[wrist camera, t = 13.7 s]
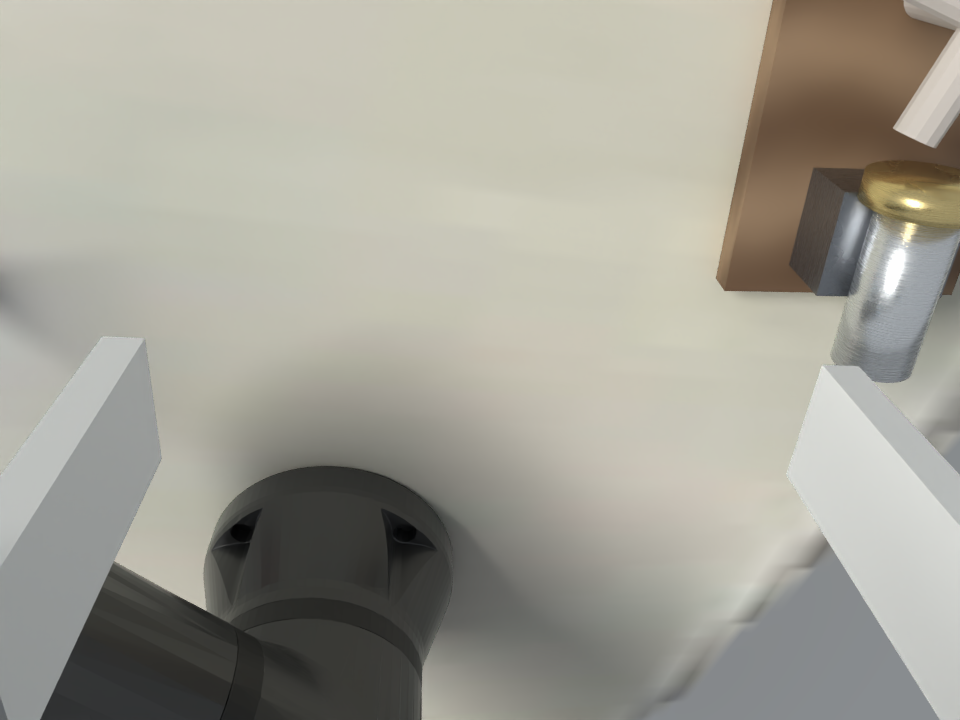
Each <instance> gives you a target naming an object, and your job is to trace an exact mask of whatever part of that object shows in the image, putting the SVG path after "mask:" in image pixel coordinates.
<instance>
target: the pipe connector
mask: <svg viewBox="0 0 960 720" xmlns="http://www.w3.org/2000/svg"><path fill="white" fill-rule="evenodd" d="M903 1H904V8H905V11H906V13H907V14H908V15H909V16H910V17H911V18H914V19H917V20H921V21H924V22H928V23H931V24H935V25H938V26H941V27H945V28H948V29H952V30H955V32H954V34H953V35H952V37H951V38H950V40H949V41H948V43H947V45H946V46H945V48H944V49H943V51H942V52H941V54H940V55H939V57H938V59H937V60H936V62H935V63H934V65H933V66H932V68H931V69H930V71H929V72H928V74H927V76H926V77H925V79H924V80H923V82H922V83H921V85H920V86H919V88H918V90H917V91H916V93H915V94H914V96H913V97H912V99H911V100H910V102H909V104H908V105H907V107H906V108H905V110H904V111H903V113H902V114H901V116H900V118H899V119H898V121H897V122H896V124H895V125H894V127H893V129H895V130H896V131H898V132H900V133H902V134H904V135H906V136H908V137H910V138H912V139H915V140H917V141H919V142H921V143H923V144H925V145H928V146H930V147H932V148H936V147H937V146H938V144H939V143H940V142H941V140H942V139H943V137H944V136H945V134H946V133H947V131H948V130H949V128H950V127H951V125H952V124H953V122H954V121H955V119H956V118H957V116H958V115H959V113H960V0H903Z"/></svg>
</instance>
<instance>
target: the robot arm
mask: <svg viewBox="0 0 960 720" xmlns="http://www.w3.org/2000/svg"><path fill="white" fill-rule="evenodd" d="M161 459H162V458H161V450H160V443H159V436H158V429H157V422H156V415H155V407H154V400H153V393H152V386H151V379H150V372H149V364H148V357H147V350H146V343H145V338H128V337H103V336H102V337H101V339H100V340H99V341H98V343H97V344H96V345H95V347H94V348H93V349H92V351H91V352H90V354H89V355H88V356H87V358H86V359H85V360H84V362H83V363H82V365H81V366H80V367H79V369H78V370H77V371H76V373H75V374H74V375H73V377H72V378H71V380H70V381H69V382H68V384H67V385H66V386H65V388H64V389H63V391H62V392H61V393H60V395H59V396H58V397H57V399H56V400H55V401H54V403H53V404H52V406H51V407H50V408H49V410H48V411H47V412H46V414H45V415H44V417H43V418H42V419H41V421H40V422H39V423H38V425H37V426H36V427H35V429H34V430H33V432H32V433H31V434H30V436H29V437H28V438H27V440H26V441H25V443H24V444H23V445H22V447H21V448H20V449H19V451H18V452H17V453H16V455H15V456H14V458H13V459H12V460H11V462H10V463H9V464H8V466H7V467H6V469H5V470H4V471H3V473H2V474H1V475H0V720H422V667H423V665H424V662H425V660H426V657H427V655H428V653H429V650H430V648H431V645H432V643H433V640H434V638H435V636H436V633H437V631H438V628H439V626H440V624H441V621H442V619H443V616H444V614H445V612H446V609H447V607H448V604H449V600H450V596H451V590H452V580H453V575H452V550H451V544H450V540H449V537H448V534H447V532H446V530H445V528H444V526H443V524H442V522H441V521H440V519H439V518H438V516H437V515H436V514H435V512H434V511H433V510H432V509H431V508H430V507H429V506H428V505H427V504H426V503H425V502H424V501H423V500H422V499H421V498H420V497H418V496H417V495H416V494H414V493H413V492H411V491H410V490H408V489H407V488H405V487H403V486H402V485H400V484H398V483H396V482H394V481H392V480H390V479H387V478H385V477H382V476H379V475H376V474H373V473H370V472H366V471H362V470H357V469H351V468H344V467H328V466H324V467H307V468H300V469H295V470H290V471H286V472H282V473H279V474H276V475H273V476H271V477H268V478H266V479H263V480H261V481H260V482H258V483H256V484H254V485H252V486H251V487H249V488H247V489H246V490H245V491H243V492H242V493H241V494H240V495H238V496H237V497H236V498H235V499H234V500H233V501H232V502H231V503H230V504H229V505H228V507H227V508H226V509H225V510H224V512H223V513H222V515H221V517H220V518H219V520H218V522H217V525H216V527H215V530H214V533H213V536H212V538H211V541H210V544H209V547H208V550H207V554H206V558H205V564H204V588H205V598H206V608H207V611H205V610H203V609H201V608H199V607H198V606H196V605H194V604H192V603H190V602H188V601H186V600H184V599H182V598H180V597H178V596H176V595H175V594H173V593H171V592H169V591H167V590H165V589H164V588H162V587H160V586H158V585H156V584H154V583H153V582H151V581H149V580H147V579H145V578H144V577H142V576H140V575H138V574H136V573H134V572H133V571H131V570H129V569H127V568H125V567H123V566H122V565H120V564H118V563H116V562H114V560H115V558H116V555H117V553H118V551H119V549H120V547H121V545H122V543H123V540H124V538H125V536H126V534H127V532H128V530H129V528H130V525H131V523H132V521H133V519H134V517H135V515H136V513H137V510H138V508H139V506H140V504H141V502H142V500H143V498H144V495H145V493H146V491H147V489H148V487H149V485H150V482H151V480H152V478H153V476H154V474H155V472H156V470H157V467H158V465H159V463H160V461H161ZM786 475H787V477H788V479H789V480H790V482H791V483H792V485H793V487H794V488H795V490H796V491H797V493H798V495H799V496H800V498H801V499H802V501H803V503H804V504H805V506H806V507H807V509H808V511H809V512H810V514H811V515H812V517H813V518H814V520H815V522H816V523H817V525H818V526H819V528H820V530H821V531H822V533H823V534H824V536H825V538H826V539H827V541H828V542H829V544H830V546H831V547H832V549H833V550H834V552H835V554H836V555H837V557H838V558H839V560H840V561H841V563H842V565H843V566H844V568H845V569H846V571H847V573H848V574H849V576H850V577H851V579H852V581H853V582H854V584H855V585H856V587H857V589H858V590H859V592H860V593H861V595H862V597H863V598H864V600H865V601H866V603H867V605H868V606H869V608H870V609H871V611H872V612H873V614H874V616H875V617H876V619H877V620H878V622H879V624H880V625H881V627H882V628H883V630H884V632H885V633H886V635H887V636H888V638H889V639H890V641H891V643H892V644H893V646H894V648H895V649H896V651H897V652H898V654H899V656H900V657H901V659H902V660H903V662H904V664H905V665H906V667H907V668H908V670H909V671H910V673H911V675H912V676H913V678H914V679H915V681H916V683H917V684H918V686H919V687H920V689H921V690H922V692H923V694H924V695H925V697H926V699H927V700H928V702H929V703H930V705H931V706H932V708H933V710H934V711H935V713H936V715H937V716H938V718H939V719H940V720H960V475H959V474H958V473H957V472H956V471H955V469H954V468H953V467H952V466H951V465H950V464H949V463H948V462H947V461H946V460H945V459H944V458H943V457H942V455H941V454H940V453H939V452H938V451H937V450H936V449H935V448H934V447H933V446H932V445H931V444H930V442H929V441H928V440H927V439H926V438H925V437H924V436H923V435H922V434H921V433H920V432H919V431H918V430H917V428H916V427H915V426H914V425H913V424H912V423H911V422H910V421H909V420H908V419H907V418H906V417H905V416H904V414H903V413H902V412H901V411H900V410H899V409H898V408H897V407H896V406H895V405H894V404H893V403H892V402H891V400H890V399H889V398H888V397H887V396H886V395H885V394H884V393H883V392H882V391H881V390H880V389H879V388H878V386H877V385H876V384H875V383H874V382H873V381H872V380H871V379H870V378H869V377H868V376H867V375H866V373H865V372H864V371H863V370H862V369H861V368H860V367H859V366H842V365H822V367H821V370H820V373H819V376H818V379H817V382H816V385H815V388H814V391H813V394H812V398H811V401H810V404H809V407H808V410H807V413H806V416H805V419H804V422H803V425H802V428H801V431H800V434H799V437H798V440H797V443H796V447H795V450H794V453H793V456H792V459H791V462H790V465H789V468H788V471H787V474H786Z"/></svg>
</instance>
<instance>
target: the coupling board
mask: <svg viewBox="0 0 960 720" xmlns="http://www.w3.org/2000/svg"><path fill="white" fill-rule="evenodd" d="M954 32H955V30H952V29H948V28H945V27H941V26H938V25H935V24H931V23H928V22H924V21H921V20H917V19H914V18H911V17H910V16H909V15H908V14H907V13H906V11H905V8H904V1H903V0H773V3H772V8H771V13H770V18H769V23H768V27H767V32H766V37H765V42H764V47H763V52H762V57H761V62H760V67H759V71H758V76H757V81H756V86H755V91H754V96H753V101H752V106H751V110H750V115H749V120H748V125H747V130H746V135H745V140H744V145H743V149H742V154H741V159H740V164H739V169H738V174H737V179H736V184H735V188H734V193H733V198H732V203H731V208H730V213H729V218H728V223H727V227H726V232H725V237H724V242H723V247H722V252H721V257H720V262H719V266H718V271H717V276H716V279H717V280H718V282H719V283H720V285H721V286H722V288H723V289H724V291H766V292H813V291H812V290H811V289H810V288H809V287H808V286H807V285H806V283H805V282H804V281H803V280H802V279H801V278H800V277H799V276H798V275H797V273H796V272H795V271H794V270H793V269H792V268H791V267H790V266H789V262H790V258H791V254H792V250H793V246H794V242H795V238H796V234H797V231H798V227H799V223H800V219H801V215H802V211H803V207H804V203H805V199H806V195H807V191H808V187H809V183H810V179H811V175H812V171H813V168H850V169H865V167H866V166H867V165H869V164H871V163H874V162H879V161H890V160H903V161H918V162H926V163H933V164H939V165H944V166H949V167H953V168H957V169H960V113H959V115H958V116H957V118H956V119H955V121H954V122H953V124H952V125H951V127H950V128H949V130H948V131H947V133H946V134H945V136H944V137H943V139H942V140H941V142H940V143H939V144H938V146H937V147H936V148H932V147H930V146H928V145H925V144H923V143H921V142H919V141H917V140H915V139H912V138H910V137H908V136H906V135H904V134H902V133H900V132H898V131H896V130H895V129H893V127H894V125H895V124H896V122H897V121H898V119H899V118H900V116H901V114H902V113H903V111H904V110H905V108H906V107H907V105H908V104H909V102H910V100H911V99H912V97H913V96H914V94H915V93H916V91H917V90H918V88H919V86H920V85H921V83H922V82H923V80H924V79H925V77H926V76H927V74H928V72H929V71H930V69H931V68H932V66H933V65H934V63H935V62H936V60H937V59H938V57H939V55H940V54H941V52H942V51H943V49H944V48H945V46H946V45H947V43H948V41H949V40H950V38H951V37H952V35H953V34H954ZM959 273H960V246H959V249H958V252H957V254H956V257H955V260H954V263H953V265H952V268H951V271H950V274H949V276H948V279H947V282H946V285H945V287H944V290H943V293H942V295H952V292H953V289H954V287H955V284H956V281H957V278H958V276H959Z"/></svg>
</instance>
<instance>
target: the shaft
mask: <svg viewBox="0 0 960 720" xmlns="http://www.w3.org/2000/svg"><path fill="white" fill-rule="evenodd" d="M959 246H960V169H957V168H953V167H949V166H944V165H939V164H933V163H926V162H918V161H903V160H890V161H879V162H874V163H871V164H869V165H867V166H866V167H865V169H850V168H813V171H812V175H811V179H810V183H809V187H808V191H807V195H806V199H805V203H804V207H803V211H802V215H801V219H800V223H799V227H798V231H797V234H796V238H795V242H794V246H793V250H792V254H791V258H790V262H789V266H790V267H791V268H792V269H793V270H794V271H795V272H796V273H797V275H798V276H799V277H800V278H801V279H802V280H803V281H804V282H805V283H806V285H807V286H808V287H809V288H810V289H811V290H812V291H813V292H814V293H815V295H816V296H848V297H847V300H846V303H845V307H844V310H843V314H842V317H841V320H840V324H839V327H838V330H837V334H836V337H835V340H834V344H833V347H832V350H831V359H832V360H833V362H834V363H835V364H836V365H842V366H859V367H860V368H861V369H862V370H863V371H864V372H865V373H866V375H867V376H868V377H869V378H870V379H871V380H872V381H875V382H883V383H894V382H901V381H904V380H906V379H908V378H909V377H910V375H911V373H912V370H913V368H914V365H915V362H916V359H917V357H918V354H919V351H920V348H921V346H922V343H923V340H924V337H925V335H926V332H927V329H928V326H929V324H930V321H931V318H932V315H933V312H934V310H935V307H936V304H937V301H938V299H939V298H941V296H942V293H943V290H944V287H945V285H946V282H947V279H948V276H949V274H950V271H951V268H952V265H953V263H954V260H955V257H956V254H957V252H958V249H959Z"/></svg>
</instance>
